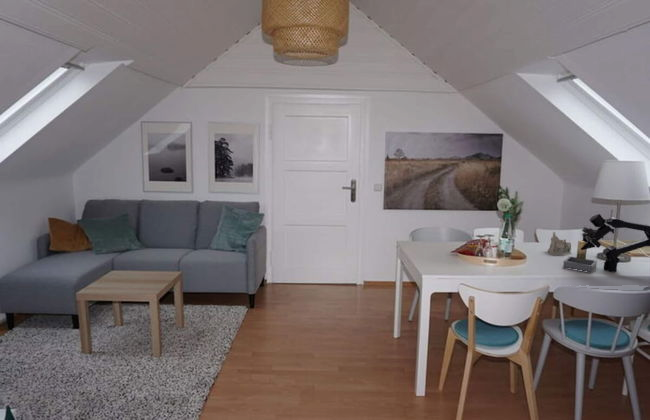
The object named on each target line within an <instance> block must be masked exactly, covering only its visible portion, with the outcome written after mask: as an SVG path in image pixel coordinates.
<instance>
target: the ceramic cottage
mask: <svg viewBox="0 0 650 420" xmlns="http://www.w3.org/2000/svg"><path fill="white" fill-rule="evenodd" d="M571 251H572V243H571V242H569V241H568V242H567V239H566V238H564V239H560V238H559V237H558V236H557V235H556V232H555V231H553V234H552V237H550V244H549V248H548V249H547V252H548V253H549V254H550V255H552V256H560V257H562V256H568V255H571V254H572V252H571Z"/></svg>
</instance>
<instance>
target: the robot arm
mask: <svg viewBox="0 0 650 420" xmlns="http://www.w3.org/2000/svg"><path fill="white" fill-rule="evenodd" d="M588 220H589V222H590V223H591V224H593V226H594V227H595V228H597V229H593V228H591V227H589V228H588V227H586V226H584V227H583V228H582V230H581V231H582V232H583V233H581V236H582V240H581V241H586V242H587V243H586V244H585V245H584V246H583V247H582V248H581V250H585V249H587V250H589V249H593V248H600V247H601V242H600V240H601V239H602V240H603V239H604V238H605V236H606V235H607V234H609V233H611V234H615V229H631V230H636V231H641V232H643V233H644V235H645V237H643V238H642V239H640V240H637V241H633V242H630V243H628V244H624V245H621V246H618V247H617V246H614V245H610V246H606V247H605V248H604V249H603V250H602V255H603V256H604V257H605V261H604V263H603V271H607V270H609V271H608V272H612V271H614V273H616V272H617V271H618V263H620V258H619V256H620V255H623V254H626V253H629V252H632V251H634V250H636V251H637V250H638V249H642V248H646V247H650V225H648V224H642V223H638V222H637V223H635V222H631V221H630V222H629V221H627V220H623V219H620V218H617V217H615V216H614V217H613V216H611V217H609V218H604V217H602V215H601V214H600V213H597V214H594V215H593V216H591V217H590V218H589V219H588Z"/></svg>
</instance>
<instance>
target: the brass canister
mask: <svg viewBox="0 0 650 420" xmlns="http://www.w3.org/2000/svg"><path fill="white" fill-rule="evenodd" d="M586 243H587V242H586V241H582V240H578V241H577V248H576V249H577V250H576V256H575V257H576V258H577V259H581V260H585V259H587V251H588V249H585V250H581V248H582V247H583V246H584V245H585V244H586Z"/></svg>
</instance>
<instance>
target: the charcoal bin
mask: <svg viewBox="0 0 650 420" xmlns="http://www.w3.org/2000/svg"><path fill="white" fill-rule="evenodd" d="M576 257H577V256H572V255H571V256H568V257H567V258H566V259H564V261H563V265H562V266H563V267H564V268H563V267H562V268H563V269H566V268H571V269H570V270H572V269H577V270H582V271H581V272H583V271H587V272H586V273H588V272H592V271H593V270H594V269H595V270H596V269H597V263H598V261H597V260H594V259H588V258H586V259H585V260H581V259H577V258H576ZM577 270H576V271H577ZM595 270H594V271H595ZM594 271H593V272H594ZM593 272H592V273H593Z"/></svg>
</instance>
